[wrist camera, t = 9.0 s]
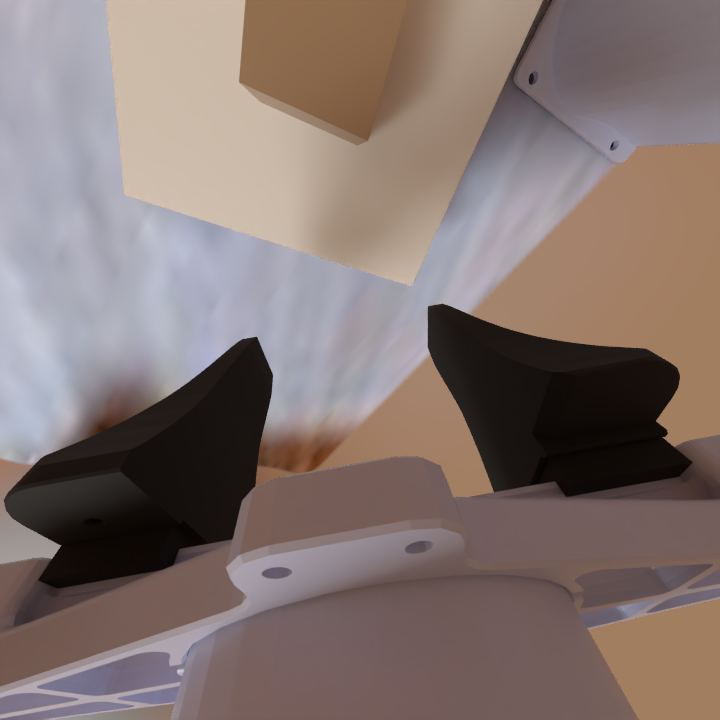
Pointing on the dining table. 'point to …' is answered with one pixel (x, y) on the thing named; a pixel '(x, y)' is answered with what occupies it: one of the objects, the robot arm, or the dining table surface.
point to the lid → (311, 115)
